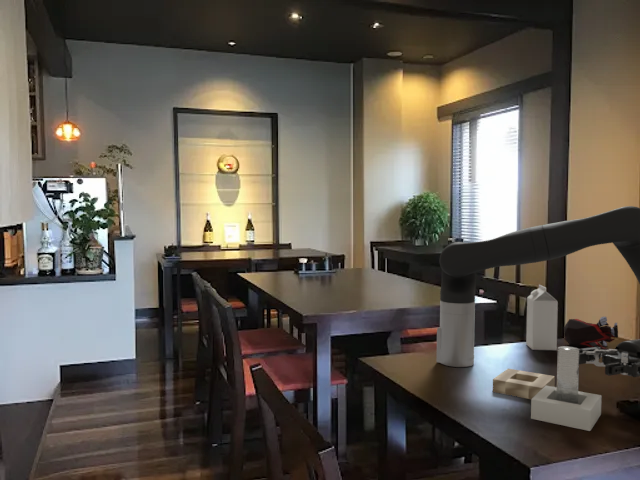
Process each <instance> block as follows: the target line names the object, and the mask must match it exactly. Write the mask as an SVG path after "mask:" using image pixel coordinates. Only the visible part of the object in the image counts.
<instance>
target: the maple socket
mask: <svg viewBox="0 0 640 480" xmlns="http://www.w3.org/2000/svg"><path fill="white" fill-rule="evenodd" d="M555 384H556V376H555V375H549V374H544V373H538V372H531V371H527V370H526V371H525V370H520V369H519V370H518V369H515V368H507V369H505V370H504V371H502V372H501V373H500V374H498V375H497V376H495V377H493V379H492V392H493V393H496V394H501V395H507V396H511V395H512V397H516V396H517V397H518V398H522V399H528V400H531V399H532V398H533V397H534V396H535V395H536V394H537V393H538V392H540V391H541V390H542V389H543V388H544V387H545V386H552V387H556V385H555Z"/></svg>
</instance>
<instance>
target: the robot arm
mask: <svg viewBox="0 0 640 480" xmlns="http://www.w3.org/2000/svg"><path fill="white" fill-rule="evenodd" d="M607 244H613V246H614V247H615V248H616V249H617V251H618V252H619V253H620V255H621V257H623V259H624V260H625V261H626V263H627V265H628V266H629V268H630V269H631V271H632V272H633V274H634V276H635V278H636V279H637V281H638V283H639V284H640V207H638V206H634V205H628V206H627V205H626V206H622V207H618V208H615V209H612V210H608V211H606V212H605V211H604V212H602V213H599V214H595V215H591V216H588V217H584V218H578V219H576V218H575V219H569V220H564V221H559V222H553V223H547V224H542V225H541V224H540V225H535V226H530V227H526V228H522V229H519V230H516V231H512V232H509V233H506V234H504V235H501V236H498V237H494V238H493V239H488V240H487V239H486V240H482V241H481V240H480V241H473V242H463V241H455V242H451V243H449V244H448V245H447V246H445V247H444V248H443V250H442V251H441V253H440V255H439V266H440V268H441V284H440V293H439V294H440V295H439V297H440V299H439V300H440V301H439V303H440V304H439V306H440V307H439V327H437V328H436V363H440V364H441V365H444V366H447V367H448V366H449V367H452V368H453V367H454V368H455V367H456V368H466V367H471V366H473V365H474V364H475V363H474V361H475V321H476V320H475V318H476V317H475V316H476V315H475V313H476V311H475V310H476V307H475V306H476V302H475V301H476V287H477V286H476V285H477V283H476V282H477V281H476V280H477V275H476V274H477V273H478V272H482V271H485V270H489V269H494V268H500V267H511V266H512V267H513V266H519V265H521V266H522V265H528V264H535V263H541V262H547V261H551V260H555V259H559V258H562V257H566V256H569V255H571V254H575V253H576V252H579V251H581V250H584V249H586V248H589V247H594V246H598V245H599V246H600V245H607ZM578 349H579V365H584V364H593V365H594V366H595V367H603V368H604V374H605V375H606V376H609V377H610V376H617V375H623V376H629V377H633V378H638V377H640V338H639V339H632V340H625V341H621V342H619V343H618V344H617V345H616V346H615V347H614V349H613V348H608V349H601V348H600V347H592V348H585V347H582V348H578ZM600 359H601V362H600Z"/></svg>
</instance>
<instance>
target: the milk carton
mask: <svg viewBox="0 0 640 480" xmlns="http://www.w3.org/2000/svg"><path fill="white" fill-rule="evenodd" d="M558 305H559V303H558V300H557V299H556V298H555V297H554V296H553V295H551V294H550V293H549V292H547V287H546V286H543V285H541V284H538V288H537V289H534V290H532V291H531V292H530V294H529V295H528V296H527V298H526V338H525V339H526V343H525V344H526V345H527V347H529V348H530V349H531V350H532V351H533V350H534V351H558V345H557V343H558V342H557V341H558V311H559V310H558V309H559V307H558Z"/></svg>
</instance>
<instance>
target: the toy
mask: <svg viewBox="0 0 640 480" xmlns="http://www.w3.org/2000/svg"><path fill="white" fill-rule="evenodd" d="M607 318H608V317H607V316H601V317H600V318H599V320H598V322H597V323H590V322H587V321H586V322H585V321H584V320H582V319H579V318H571V319H570V318H569V319H568V321H567V322H566V323H565V325H564V326H563V338H564V339H563V340H565V342H566V343H567V344H569V347H575V348H592V347H600V348H601V350H608V349H609V348H607V347H608V343H612V342H613V341H615V338H619V327H618V322H614V324H613V327H611V326H610V324H609V323H608V319H607Z"/></svg>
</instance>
